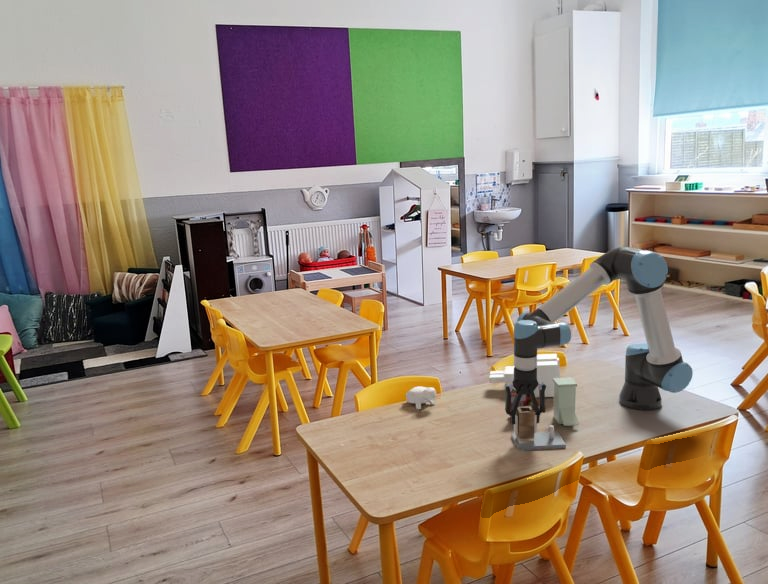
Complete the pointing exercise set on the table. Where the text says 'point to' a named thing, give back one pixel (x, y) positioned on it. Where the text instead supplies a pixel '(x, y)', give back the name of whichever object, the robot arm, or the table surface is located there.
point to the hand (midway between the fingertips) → (525, 432)
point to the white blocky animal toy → (421, 396)
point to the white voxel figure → (545, 373)
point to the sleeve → (525, 424)
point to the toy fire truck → (523, 401)
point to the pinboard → (542, 441)
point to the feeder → (565, 401)
